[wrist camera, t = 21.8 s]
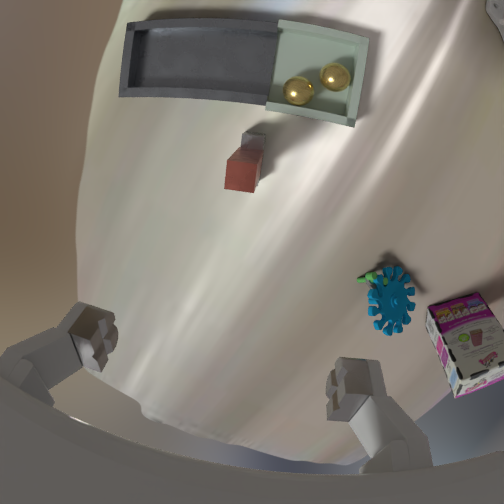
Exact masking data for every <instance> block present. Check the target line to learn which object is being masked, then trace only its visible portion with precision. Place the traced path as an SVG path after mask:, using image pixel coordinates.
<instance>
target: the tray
mask: <svg viewBox="0 0 504 504" xmlns="http://www.w3.org/2000/svg"><path fill="white" fill-rule="evenodd" d="M368 45H369V38H367V37H363V36H359V35H356V34H352V33H348V32H344V31H340V30H336V29H331V28H327V27H322V26H317V25H312V24H306V23H301V22H294V21H288V20H281V19H279V22H278V37H277V44H276V50H275V57H274V63H273V70H272V77H271V83H270V90H269V97H268V101H267V102H266V108H265V110H267V111H274V112H280V113H286V114H292V115H298V116H303V117H308V118H314V119H318V120H323V121H328V122H332V123H337V124H341V125H345V126H350V127H355V122H356V117H357V112H358V106H359V101H360V95H361V89H362V84H363V78H364V71H365V65H366V59H367V52H368ZM328 63H339V64H342V65H343V66H345V67H346V68H347V69H348V71H349V73H350V76H351V81H350V84H349V86H348V87H347V88H346V89H345V90H343V91H341V92H332V91H329V90H327V89H326V88H325V87H324V86H323V85H322V84H321V82H320V78H319V74H320V71H321V69H322V68H323V66H325V65H326V64H328ZM294 76H302V77H305V78H307V79H308V80H309V81H310V82H311V83H312V84H313V87H314V96H313V98H312V100H311V101H310V102H309V103H307V104H306V105H302V106H296V105H293V104H291V103H289V102H288V101H287V100H286V99H285V98H284V95H283V85H284V83H285V82H286V81H287V80H288V79H289V78H291V77H294Z"/></svg>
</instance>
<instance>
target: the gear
mask: <svg viewBox="0 0 504 504" xmlns="http://www.w3.org/2000/svg"><path fill="white" fill-rule="evenodd" d="M392 271H393V276H392V278H391V280H390V276H391V274H392ZM402 272H403V270H402V269H401V268H400V267H399V266H396V267H394V268H393V270H392V268H391V267H385V268H383V274H384V278H383V275H382V274H380V275H377V273H376V272H368V273H366V275H365V277H361V278H357V282H358V283H361V282H366V283H367V285H368V286H369V287H370V290H369V292H368V295H367V296H368V298H369V300H368V301H369V304H378V305H379V307H378V308H377V307H376V306H369V308H368V315H369V316H376V315H377V314H379V313H380V314H381V315H382V319H381V320H375V321H374V323H373V324H374V327H375V329H376V330H381V329H382V328H383V326H384V324H385V323H386V322H387V321H388V326H386V327H385V328H384V329H383V333H384V334H385V335H388V336H391V335H392V333H393V332H394V333H401V332H402V331H403V327H402V323H403V324H405V325H407V324H409V323H410V321H411V317H410V316H409V315H408V313H407V310H408V311H414V309H415V303H414V302H410V301H409V299H408V298H407V295H408V296H414V295H415V288H414V287H409V288H407V289H405V288H404V283H409V282H410V281H411V279H410V276H409V274H403V276H402V278H401V280H400V281H398V276H399V275H401V274H402ZM406 306H407V308H406ZM402 316H403V317H402ZM395 322H396V324H395ZM394 324H395V326H394ZM393 326H394V328H393Z"/></svg>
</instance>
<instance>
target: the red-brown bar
mask: <svg viewBox="0 0 504 504" xmlns="http://www.w3.org/2000/svg"><path fill="white" fill-rule="evenodd" d="M265 135H266V134H259V133H252V132H244V133H243V134H242V140H241V147H239V148H238V149H237V150H236V151H235V152H234V153H233V154H232V156H231V157H230V158H229V159H228V160H227V167H226V177H225V187H224V189H229V190H236V191H243V192H250V193H254V191H255V188H256V186H258V183H259V179H260V173H261V166H262V159H263V152H264V151H263V150H264V143H265Z"/></svg>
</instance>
